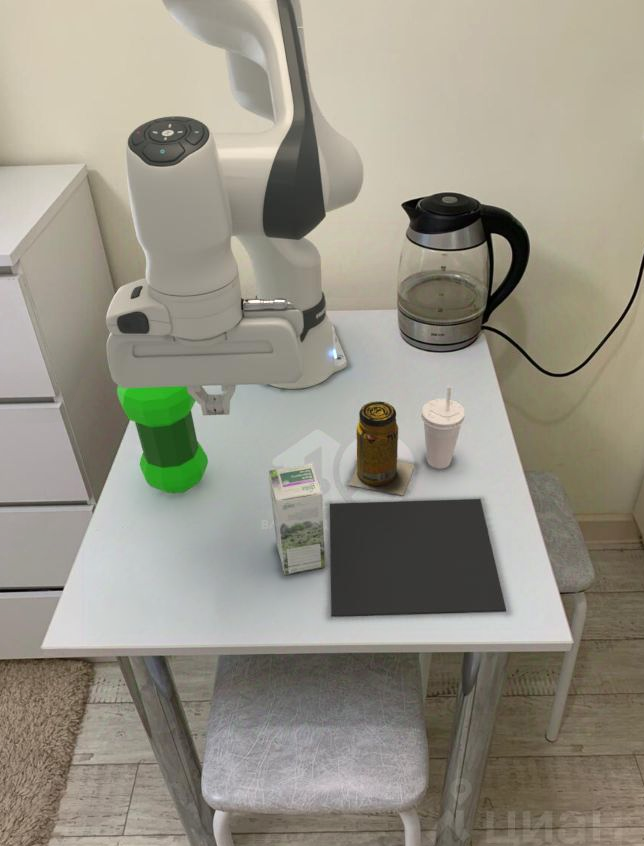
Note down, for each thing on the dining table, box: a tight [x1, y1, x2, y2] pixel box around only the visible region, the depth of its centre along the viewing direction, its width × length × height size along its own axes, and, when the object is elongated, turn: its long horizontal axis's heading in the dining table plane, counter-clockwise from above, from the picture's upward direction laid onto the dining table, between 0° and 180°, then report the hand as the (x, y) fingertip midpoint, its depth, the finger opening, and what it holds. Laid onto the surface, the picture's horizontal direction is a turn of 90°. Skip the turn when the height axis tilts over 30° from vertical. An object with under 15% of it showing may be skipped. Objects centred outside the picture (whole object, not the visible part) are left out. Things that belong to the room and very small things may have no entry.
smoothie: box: [420, 385, 466, 470], centre depth 108 cm, size 6×6×14 cm
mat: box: [329, 498, 507, 618], centre depth 98 cm, size 20×22×1 cm
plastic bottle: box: [116, 384, 209, 495], centre depth 102 cm, size 10×10×25 cm
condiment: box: [348, 400, 416, 496], centre depth 106 cm, size 7×8×12 cm
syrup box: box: [268, 463, 326, 576], centre depth 93 cm, size 6×6×14 cm
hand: (217, 412), depth 81 cm, fingers closed
